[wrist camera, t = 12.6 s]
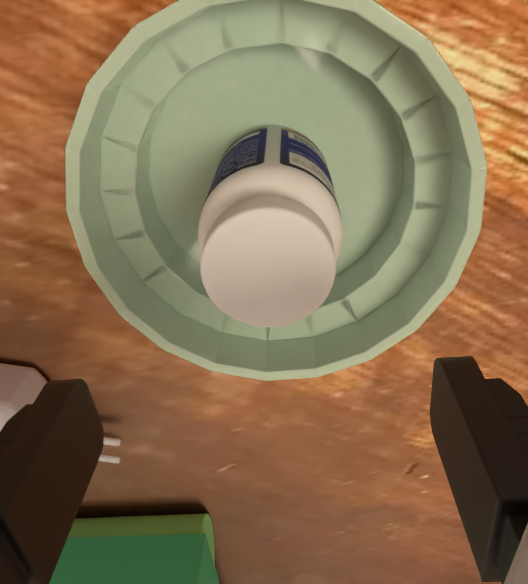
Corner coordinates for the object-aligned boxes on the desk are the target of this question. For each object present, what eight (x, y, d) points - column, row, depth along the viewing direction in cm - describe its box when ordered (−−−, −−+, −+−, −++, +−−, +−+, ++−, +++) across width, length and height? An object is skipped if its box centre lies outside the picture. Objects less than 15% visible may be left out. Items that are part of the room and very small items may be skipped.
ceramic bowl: (117, -58, 21) (61, -76, 16) (502, 30, 22) (567, 38, 17) (105, 286, 30) (67, 346, 25) (383, 337, 31) (402, 405, 26)
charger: (128, 468, 38) (-72, 439, 37) (131, 375, 33) (-98, 341, 33) (109, 524, 34) (-117, 494, 33) (109, 427, 29) (-153, 390, 28)
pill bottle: (223, 234, 27) (194, 342, 19) (212, 126, 24) (170, 195, 16) (330, 230, 27) (349, 338, 18) (330, 119, 24) (354, 186, 15)
